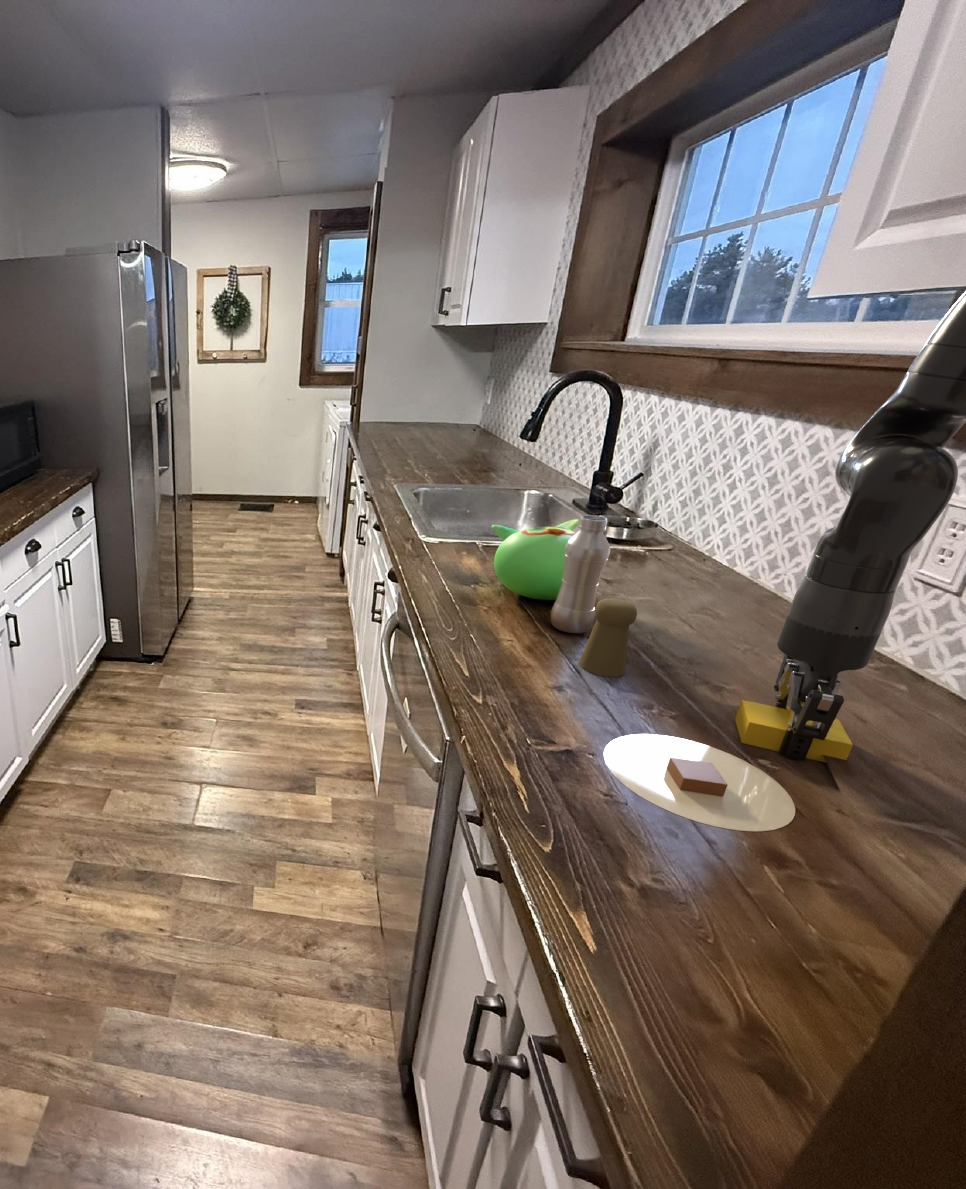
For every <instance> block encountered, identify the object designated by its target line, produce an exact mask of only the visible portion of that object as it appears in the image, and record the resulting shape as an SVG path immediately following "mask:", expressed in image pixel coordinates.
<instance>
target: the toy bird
mask: <svg viewBox="0 0 966 1189" xmlns="http://www.w3.org/2000/svg"><path fill="white" fill-rule="evenodd" d="M579 524H580V519H577V518H573V519H570V520H567V521H565V522H563V523H560V524H558V525H556V526H535V527H529V528H526V529H522V530H517V529H515V528H511V527H508V526H504V525H501V524H492V525H491V530H492V531H493V532H494V534H496V535H497V536H498V537H499V538H500V540H502V542H501V543H500V545H499V546H498V547H497V549H496V552H495V554H494V559H493V566H494V571H495V575H496V577H497V578H498V580H499V582H500V583H501V584H502V585H503V586H504V587H505V588H506V589H508V590H509V591H511V592H513V593H515V594H516V595H519V596H521V597H524V598H528V599H534V600H539V601H556V599H557V596H558V593H559V589H560V586H561V583H562V578H563V570H564V556H565V546H566V544H567V543H568V541H569V540H570V539H571V538H572V537H573V536H574V535H575V534H576V533H578V532H577V531H575V529H576V528H577V527H578V526H579Z"/></svg>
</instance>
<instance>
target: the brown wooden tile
mask: <svg viewBox="0 0 966 1189" xmlns="http://www.w3.org/2000/svg"><path fill="white" fill-rule="evenodd" d="M667 770H668V772H669V773H670V775H671V776H672V778H673V779H674V781H675V783H676V784H677V786H678V787H679V789H680V790H684V791H691V792H697V793H704V794H710V795H717V796H724V794H725V791H726V788H727V783H726V782H725V781H724V779H723V778H722V777H721V775H720V774H719V773H718V771H717V770H716V768H715V767H714V766H713V764H712V763H708V762H701V761H694V760H687V759H680V758H673V757H670V759H669V762H668V765H667Z"/></svg>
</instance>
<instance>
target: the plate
mask: <svg viewBox="0 0 966 1189" xmlns="http://www.w3.org/2000/svg"><path fill="white" fill-rule="evenodd" d="M670 757H673V758H680V759H687V760H694V761H701V762H708V763H712V764H713V766H714V767H715V768H716V770H717V771H718V773H719V774H720V775H721V777H722V778H723V779H724V781H725V782H726V783H727V788H726V791H725V794H724V796H717V795H710V794H704V793H697V792H691V791H684V790H680V789H679V787H678V786H677V784H676V783H675V781H674V779H673V778H672V776H671V775H670V773H669V772H668V770H667V765H668V762H669V759H670ZM603 760H604V762H605V765H606V768H608V770H609V771H610V773H611V774H612V775H613V776H614V777H615V779H616V780H618V781H619V782H620V784H622V785H624V786H625V787H626V788H627V789H628V790H630V791H631V792H633V793H634V794H636V795H637V796H638V797H640V798H642V799H643V800H645V801H647V802H649V803H651V805H654V806H656V807H658V808H661V809H662V810H664V811H666V812H669V813H670V814H671V813H672V814H674V815H677V816H678V817H682V818H684V819H687V820H690V821H693V822H697V823H699V824H703V825H707V826H711V827H714V828H720V829H724V830H731V831H739V832H750V833H751V832H753V833H754V832H756V833H759V832H769V831H775V830H779V829H782V828H784V827H786V826H788V825H789V824H790V823H792V822H793V820H794V818H795V816H796V806H795V802H794V801H793V799H792V797H791V795H790V794H789V793H788V792H787V790H786V789H785V788H784V787H782V785H781V784H780V783H779V782H777V781H776V780H775V779H774V778H773V777H771V776H770V775H769V774H767V773H766V772H764V771H763V770H761V769H760V768H758V767H757V766H754V765H753V764H750V763H749V762H747V761H746V760H744V759H742V758H739V757H737V756H735V755H733V754H731V753H728V752H726V751H723V750H721V749H718V748H717V747H716V748H715V747H713V746H710V745H707V744H704V743H701V742H697V741H694V740H689V739H686V738H681V737H676V736H670V735H664V734H654V733H653V734H651V733H636V734H628V735H623V736H619V737H617V738H615V739H613V740H611V741H610V742H608V744H606V746H605V747H604V750H603Z"/></svg>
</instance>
